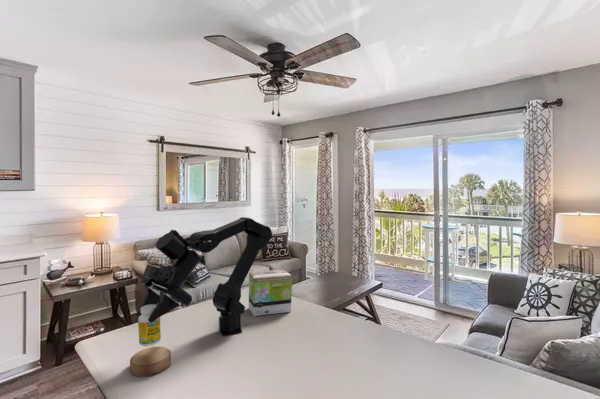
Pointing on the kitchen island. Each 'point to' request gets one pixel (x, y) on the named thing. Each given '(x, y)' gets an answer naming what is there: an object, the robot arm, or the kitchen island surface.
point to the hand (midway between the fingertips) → (144, 318)
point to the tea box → (270, 292)
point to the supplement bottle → (148, 327)
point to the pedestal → (150, 361)
